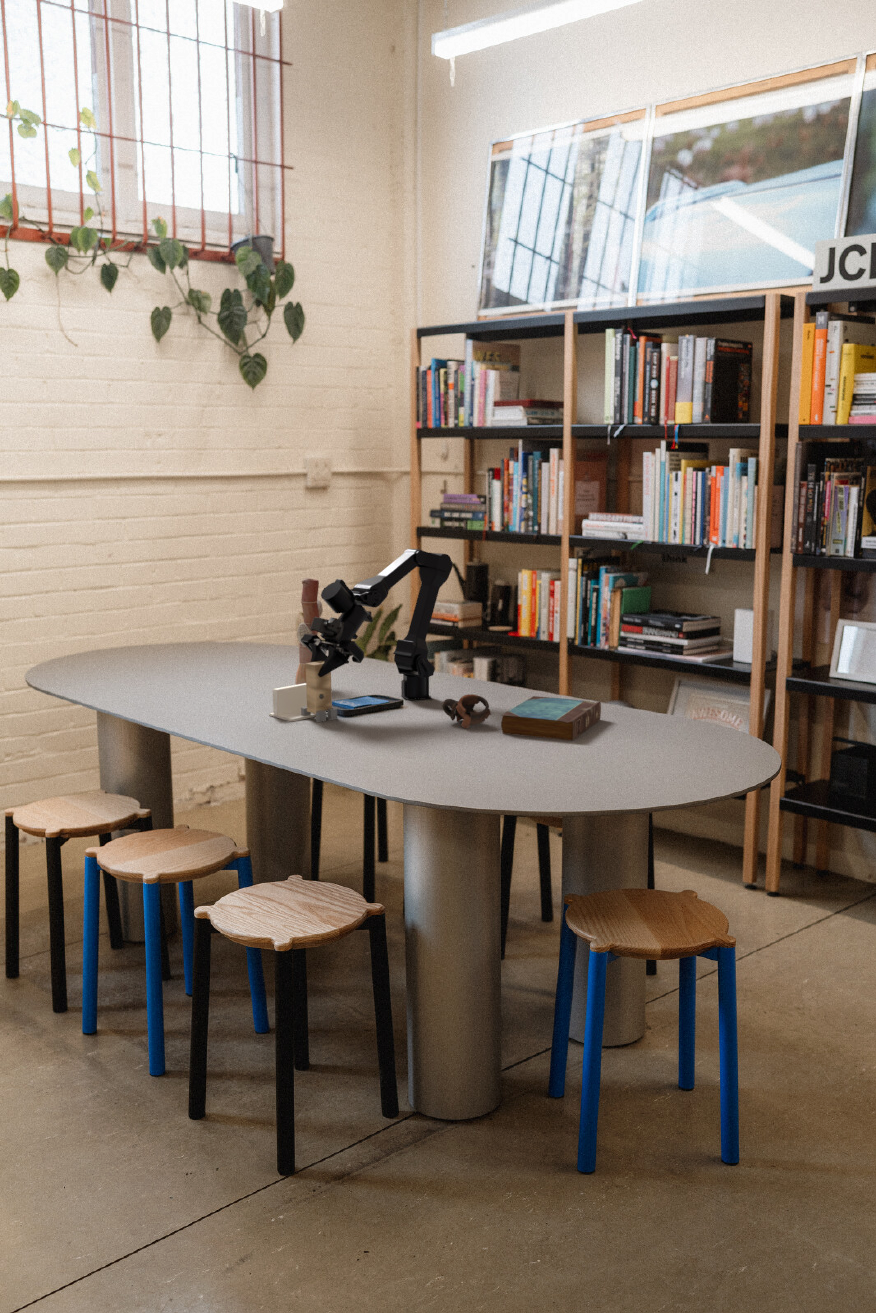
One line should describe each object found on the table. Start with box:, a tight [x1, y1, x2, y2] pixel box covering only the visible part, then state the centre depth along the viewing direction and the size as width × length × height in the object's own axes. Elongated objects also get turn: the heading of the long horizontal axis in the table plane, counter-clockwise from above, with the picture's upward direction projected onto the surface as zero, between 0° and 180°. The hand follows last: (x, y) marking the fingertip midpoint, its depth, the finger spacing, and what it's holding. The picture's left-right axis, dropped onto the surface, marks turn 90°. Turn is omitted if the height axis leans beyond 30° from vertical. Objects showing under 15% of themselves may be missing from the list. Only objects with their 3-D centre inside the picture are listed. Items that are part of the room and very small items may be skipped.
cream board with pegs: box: [268, 683, 338, 723], centre depth 292 cm, size 14×14×7 cm
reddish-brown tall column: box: [294, 577, 324, 685], centre depth 328 cm, size 10×7×30 cm
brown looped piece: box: [441, 693, 492, 730], centre depth 282 cm, size 12×10×8 cm
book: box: [500, 695, 602, 742], centre depth 280 cm, size 23×18×5 cm
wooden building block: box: [306, 661, 333, 713], centre depth 289 cm, size 5×4×12 cm
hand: (314, 675), depth 287 cm, fingers closed on wooden building block, 3 cm apart
